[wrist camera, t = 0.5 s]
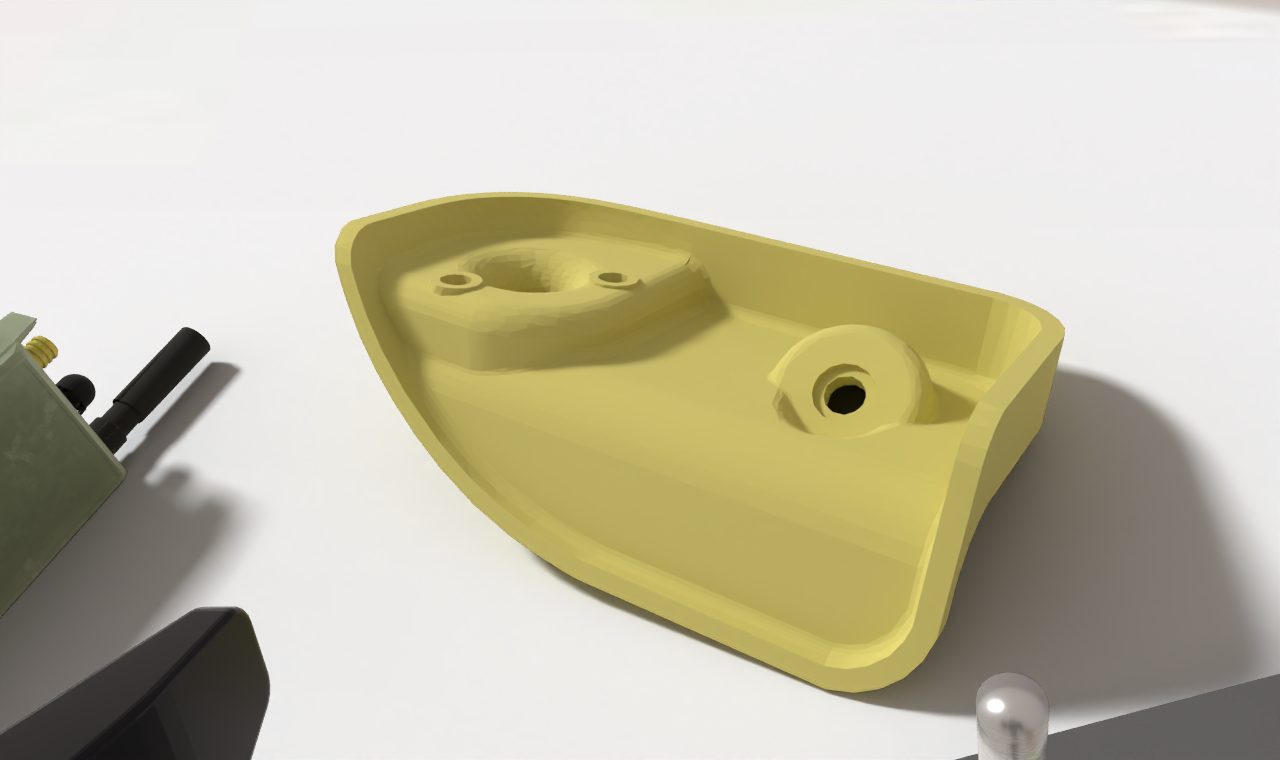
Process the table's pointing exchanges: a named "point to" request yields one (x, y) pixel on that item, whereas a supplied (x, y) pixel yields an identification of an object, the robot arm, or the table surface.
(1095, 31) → the table surface
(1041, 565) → the table surface
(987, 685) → the chassis
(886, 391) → the plastic component
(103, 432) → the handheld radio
